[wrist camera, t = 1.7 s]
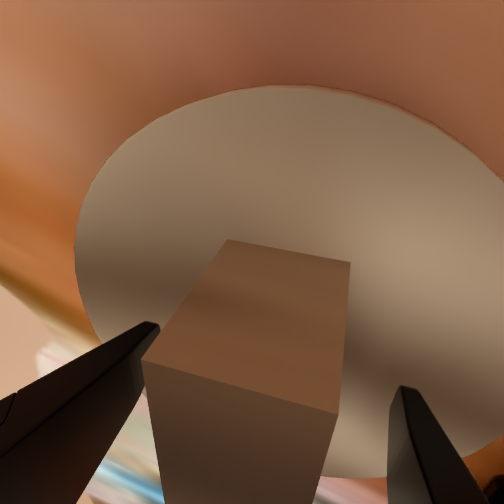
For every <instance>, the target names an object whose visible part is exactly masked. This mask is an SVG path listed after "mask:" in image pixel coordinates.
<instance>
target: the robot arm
mask: <svg viewBox="0 0 504 504" xmlns="http://www.w3.org/2000/svg"><path fill="white" fill-rule="evenodd" d="M160 332H161V329H160V326H159V324H157V323H154V322H150V321H144V322H142V323H140V324H138V325H136V326H134V327H133V328H131V329H129V330H127V331H125V332H123V333H122V334H120V335H118V336H116V337H114V338H113V339H111V340H109V341H107V342H105V343H103V344H102V345H100V346H98V347H96V348H94V349H93V350H91V351H89V352H87V353H85V354H84V355H82V356H80V357H78V358H76V359H74V360H73V361H71V362H69V363H67V364H65V365H64V366H62V367H60V368H58V369H56V370H54V371H53V372H51V373H49V374H47V375H45V376H44V377H42V378H40V379H38V380H36V381H34V382H33V383H31V384H29V385H27V386H25V387H24V388H22V389H20V390H18V391H17V393H12V394H11V395H9V396H7V397H5V398H3V399H2V400H0V504H76V503H77V501H78V499H79V498H80V496H81V495H82V493H83V491H84V490H85V488H86V486H87V485H88V483H89V481H90V480H91V478H92V476H93V475H94V473H95V471H96V470H97V468H98V466H99V465H100V463H101V461H102V460H103V458H104V456H105V455H106V453H107V451H108V450H109V448H110V446H111V445H112V443H113V441H114V440H115V438H116V436H117V435H118V433H119V431H120V430H121V428H122V427H123V425H124V423H125V422H126V420H127V418H128V417H129V415H130V413H131V412H132V410H133V408H134V406H135V405H136V403H137V401H138V399H139V397H140V395H141V393H142V391H143V389H144V387H145V382H144V377H143V371H142V365H141V358H142V357H143V355H144V354H145V353H146V351H147V350H148V349H149V347H150V346H151V344H152V343H153V342H154V340H155V339H156V337H157V336H158V335H159V333H160ZM387 492H388V504H504V479H497V480H495V481H494V482H493V483H492V484H491V486H490V487H489V488H488V489H487V491H486V492H485V493H484V494H483V492H482V491H481V489H480V487H479V486H478V484H477V483H476V481H475V479H474V478H473V476H472V475H471V473H470V471H469V470H468V468H467V467H466V465H465V463H464V462H463V460H462V459H461V457H460V455H459V454H458V452H457V451H456V449H455V448H454V446H453V444H452V443H451V441H450V440H449V438H448V436H447V435H446V433H445V432H444V430H443V428H442V427H441V425H440V424H439V422H438V420H437V419H436V417H435V416H434V414H433V412H432V411H431V409H430V408H429V406H428V405H427V403H426V401H425V400H424V398H423V397H422V395H421V393H420V392H419V391H418V390H417V389H415V388H412V387H408V386H404V385H400V386H399V387H398V389H397V391H396V393H395V396H394V398H393V401H392V403H391V406H390V410H389V426H388V452H387Z"/></svg>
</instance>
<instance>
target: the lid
mask: <svg viewBox="0 0 504 504" xmlns="http://www.w3.org/2000/svg"><path fill="white" fill-rule="evenodd" d="M74 255H75V272H76V277H77V282H78V287H79V292H80V295H81V298H82V301H83V304H84V307H85V311H86V313H87V316H88V318H89V320H90V322H91V324H92V326H93V329H94V331H95V333H96V334H97V336H98V338H99V340H100V341H101V343H102V344H103V343H105V342H107V341H109V340H111V339H113V338H114V337H116V336H118V335H120V334H122V333H123V332H125V331H127V330H129V329H131V328H133V327H134V326H136V325H138V324H140V323H142V322H144V321H150V322H154V323H157V324H159V326H160V329H161V332H160V333H159V335H158V336H157V337H156V339H155V340H154V342H153V343H152V344H151V346H150V347H149V349H148V350H147V351H146V353H145V354H144V355H143V357H142V358H141V365H142V371H143V377H144V382H145V387H144V389H143V391H142V393H143V394H144V395H145V396H146V397H147V400H148V406H149V412H150V418H151V424H152V430H153V436H154V442H155V448H156V454H157V460H158V466H159V472H160V478H161V484H162V490H163V495H164V501H165V504H312V503H313V499H314V496H315V493H316V489H317V486H318V482H319V479H320V476H325V477H336V478H352V479H355V478H383V477H387V452H388V426H389V410H390V406H391V403H392V401H393V398H394V396H395V393H396V391H397V389H398V387H399V386H400V385H404V386H408V387H412V388H415V389H417V390H418V391H419V392H420V393H421V395H422V397H423V398H424V400H425V401H426V403H427V405H428V406H429V408H430V409H431V411H432V412H433V414H434V416H435V417H436V419H437V420H438V422H439V424H440V425H441V427H442V428H443V430H444V432H445V433H446V435H447V436H448V438H449V440H450V441H451V443H452V444H453V446H454V448H455V449H456V451H457V452H458V454H459V455H460V457H461V458H464V457H466V456H468V455H470V454H473V453H475V452H476V451H478V450H480V449H481V448H483V447H485V446H486V445H488V444H490V443H492V442H493V441H495V440H496V439H498V438H499V437H500V436H501V435H503V434H504V182H503V181H502V180H501V179H500V178H499V177H498V176H497V175H496V174H495V173H494V172H493V171H492V170H491V169H490V168H489V167H488V166H487V165H486V164H485V163H484V162H483V161H482V160H480V159H479V158H478V157H477V156H476V155H475V154H474V153H473V152H472V151H471V150H470V149H469V148H468V147H467V146H466V145H464V144H463V143H461V142H460V141H458V140H457V139H455V138H454V137H452V136H451V135H450V134H448V133H447V132H445V131H444V130H442V129H441V128H439V127H438V126H436V125H435V124H434V123H432V122H430V121H428V120H426V119H424V118H422V117H420V116H418V115H416V114H414V113H411V112H409V111H407V110H405V109H403V108H401V107H399V106H397V105H395V104H392V103H389V102H386V101H383V100H379V99H376V98H373V97H370V96H367V95H363V94H360V93H357V92H354V91H348V90H342V89H335V88H329V87H323V86H317V85H281V84H273V85H265V86H258V87H250V88H243V89H236V90H233V91H229V92H226V93H223V94H219V95H216V96H212V97H209V98H206V99H202V100H199V101H196V102H193V103H190V104H187V105H185V106H182V107H180V108H178V109H176V110H174V111H172V112H170V113H168V114H166V115H164V116H162V117H160V118H157V119H155V120H153V121H152V122H151V123H149V124H148V125H146V126H145V127H143V128H142V129H141V130H139V131H138V132H136V133H135V134H134V135H132V136H131V137H129V138H128V139H127V140H126V141H125V142H124V143H123V144H122V145H121V146H120V147H119V148H118V149H117V150H116V151H115V152H114V153H113V154H112V155H111V156H110V157H109V158H108V159H107V161H106V162H105V164H104V165H103V166H102V168H101V169H100V171H99V172H98V174H97V175H96V177H95V178H94V180H93V181H92V183H91V185H90V188H89V190H88V192H87V194H86V196H85V199H84V201H83V203H82V207H81V210H80V214H79V218H78V222H77V226H76V235H75V246H74Z"/></svg>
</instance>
